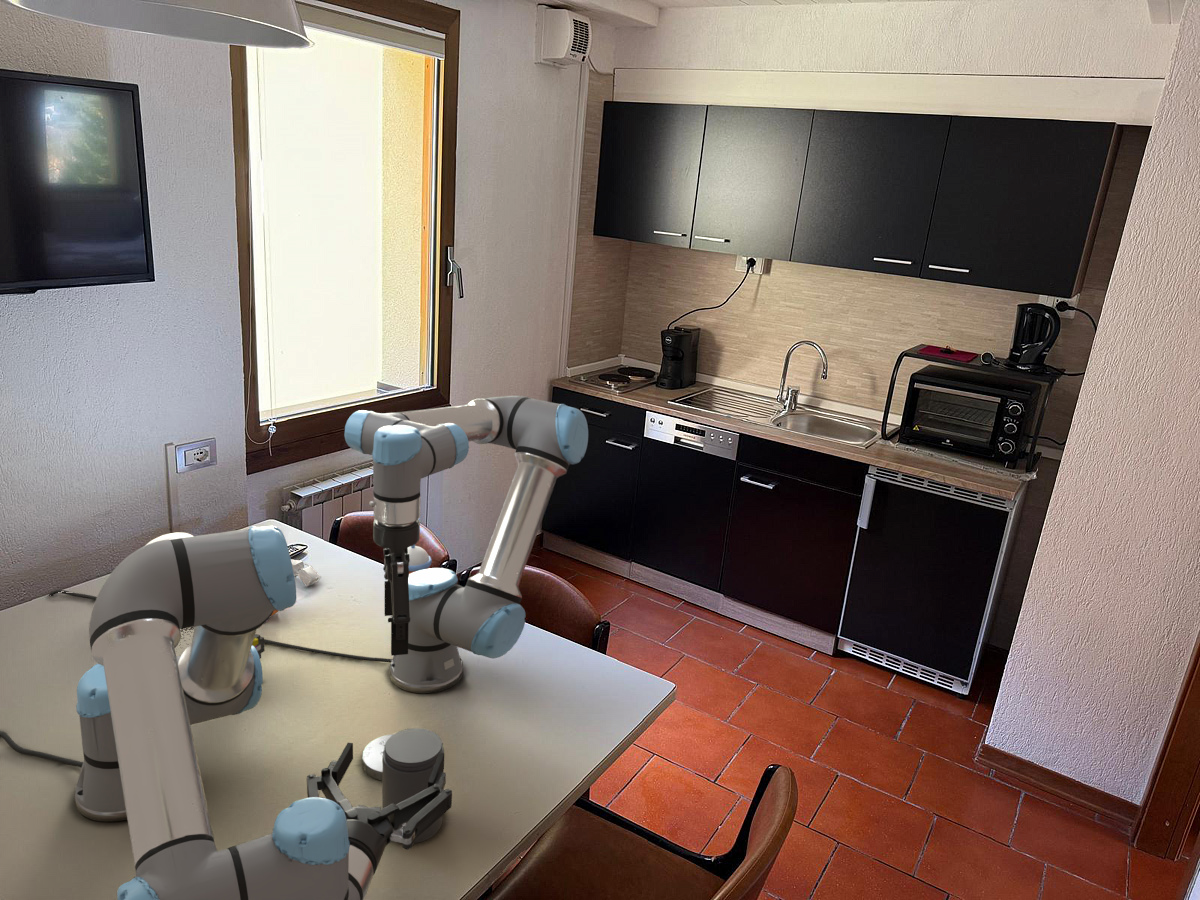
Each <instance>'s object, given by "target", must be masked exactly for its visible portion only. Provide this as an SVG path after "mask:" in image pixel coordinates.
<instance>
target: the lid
mask: <svg viewBox="0 0 1200 900" xmlns="http://www.w3.org/2000/svg"><path fill="white" fill-rule="evenodd" d="M393 734H394V733H391V734H390V733H389V734H385V735H381V736H379V737H377V738H375V739H372V740H371V741H370V742H369V743H368V744H366V746H365V747H364V749H363V751H362V754H361V766H362V770H364V772H365V774H366V775H368V776H369V777H371V778H373V779H375V780H379V781H382V768H383V751H384V747H385V744H386V742H387V740H388V739H389V738H390V737H391V736H392V735H393Z"/></svg>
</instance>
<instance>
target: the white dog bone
mask: <svg viewBox="0 0 1200 900" xmlns="http://www.w3.org/2000/svg"><path fill="white" fill-rule="evenodd" d="M291 562H292V567H293V572H294V578H296V577H298V578H299V579H300V580H301V582H303V584H304V585H305V587H309V586H312V585H314V584H316V583H318V582H319V580H320V579H321V578H322V577H321V575H320V574H319V573H318V572H317V570H315V569H314V568H313V566H312V565H310V564H309V565H308V564H307V563H305V562H304V561H303V560H301V559H300V560H299V559H292V558H291ZM305 566H306V567H305Z"/></svg>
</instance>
